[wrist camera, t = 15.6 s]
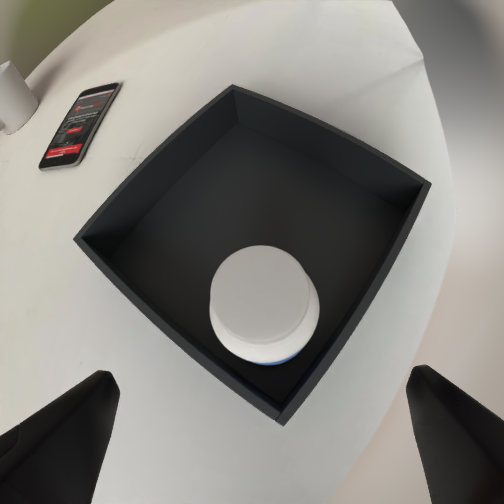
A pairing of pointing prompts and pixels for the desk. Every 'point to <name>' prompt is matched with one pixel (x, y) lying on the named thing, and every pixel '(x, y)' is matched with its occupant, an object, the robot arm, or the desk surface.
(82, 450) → the robot arm
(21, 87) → the mug
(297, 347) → the pill bottle
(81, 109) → the smartphone
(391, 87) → the desk surface
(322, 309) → the dark grey storage tray
